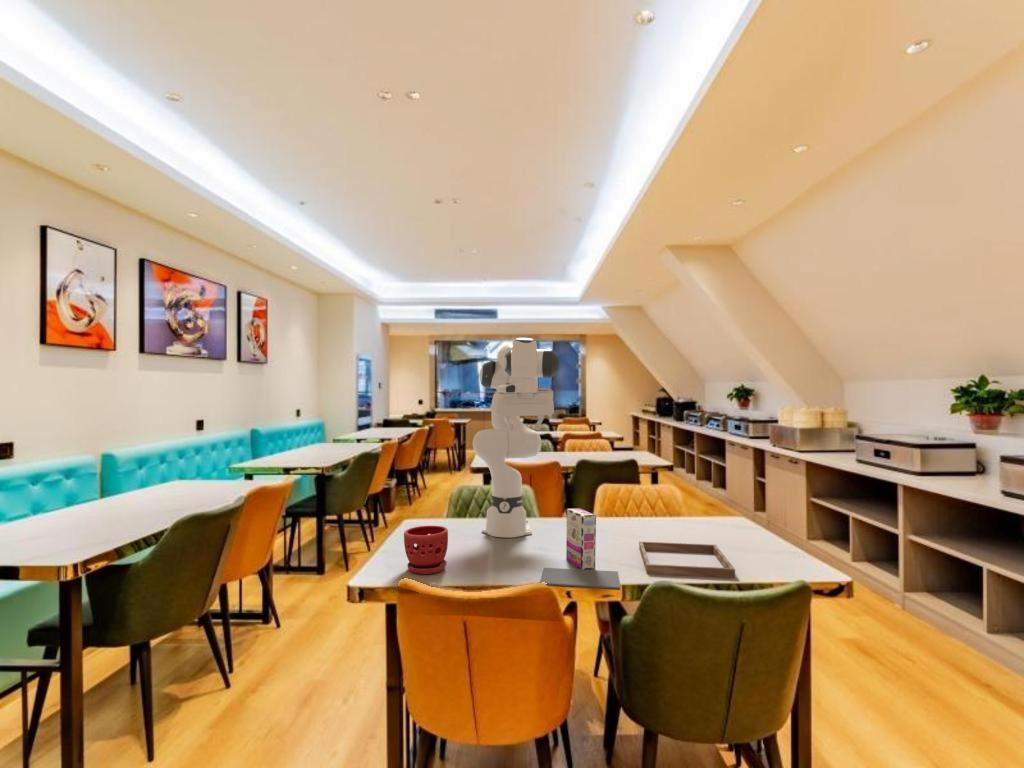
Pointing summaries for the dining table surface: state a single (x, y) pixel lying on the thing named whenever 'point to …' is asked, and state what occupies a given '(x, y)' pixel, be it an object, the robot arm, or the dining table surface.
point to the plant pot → (426, 548)
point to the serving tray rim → (686, 570)
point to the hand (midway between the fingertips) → (523, 429)
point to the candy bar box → (581, 538)
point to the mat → (581, 578)
